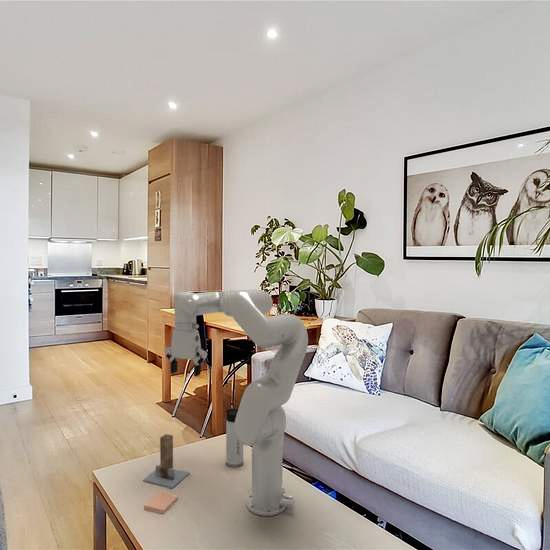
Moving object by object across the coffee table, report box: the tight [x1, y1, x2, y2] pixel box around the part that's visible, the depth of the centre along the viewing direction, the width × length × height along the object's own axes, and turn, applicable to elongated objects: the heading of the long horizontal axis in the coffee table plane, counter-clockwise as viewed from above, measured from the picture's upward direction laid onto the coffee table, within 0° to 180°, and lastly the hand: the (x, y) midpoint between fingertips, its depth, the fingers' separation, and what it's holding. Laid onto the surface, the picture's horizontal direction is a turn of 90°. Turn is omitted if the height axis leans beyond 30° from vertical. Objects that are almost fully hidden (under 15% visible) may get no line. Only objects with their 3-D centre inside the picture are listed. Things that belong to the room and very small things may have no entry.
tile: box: [143, 491, 179, 515], centre depth 132 cm, size 7×2×8 cm
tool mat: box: [142, 468, 190, 490], centre depth 147 cm, size 12×10×1 cm
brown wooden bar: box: [155, 433, 175, 480], centre depth 147 cm, size 7×3×14 cm, turn 68°
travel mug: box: [225, 408, 244, 468], centre depth 157 cm, size 6×7×20 cm
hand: (185, 374), depth 153 cm, fingers open, 9 cm apart
